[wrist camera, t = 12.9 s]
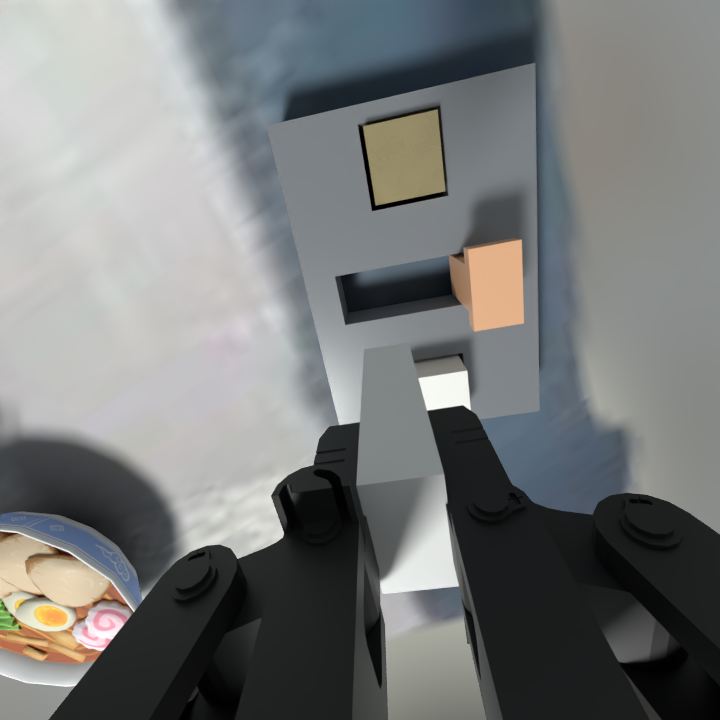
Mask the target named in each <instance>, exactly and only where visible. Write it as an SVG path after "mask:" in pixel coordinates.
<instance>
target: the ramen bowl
mask: <svg viewBox="0 0 720 720" xmlns="http://www.w3.org/2000/svg"><path fill="white" fill-rule="evenodd" d="M141 602H142V598H141V592H140V587H139V582H138V577H137V573H136V571H135V569H134V568H133V567H132V565H131V564H130V562H129V561H128V559H127V558H126V557H125V555H124V554H123V552H122V551H121V550H120V548H119V547H118V546H117V545H116V544H115V543H113V542H112V541H110V540H109V539H108V538H106V537H105V536H104V535H102V534H101V533H99V532H98V531H97V530H95V529H94V528H92V527H89V526H87V525H84V524H82V523H79V522H77V521H74V520H71V519H69V518H66V517H63V516H60V515H53V514H43V513H33V512H23V511H22V512H11V513H4V514H0V675H4V676H7V677H10V678H13V679H16V680H19V681H23V682H26V683H34V684H46V685H55V686H66V687H70V686H76V685H77V683H78V682H79V681H80V680H81V678H82V677H83V676H84V674H85V673H86V672H87V671H88V669H89V668H90V667H91V666H92V664H93V663H94V662H95V661H96V659H97V658H98V657H99V655H100V654H101V653H102V652H103V650H104V649H105V648H106V647H107V645H108V644H109V643H110V642H111V640H112V639H113V638H114V637H115V635H116V634H117V633H118V631H119V630H120V629H121V628H122V626H123V625H124V624H125V623H126V621H127V620H128V619H129V618H130V616H131V615H132V614H133V612H134V611H135V610H136V609H137V607H138V606H139V605H140V604H141Z"/></svg>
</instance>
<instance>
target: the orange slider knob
mask: <svg viewBox="0 0 720 720" xmlns="http://www.w3.org/2000/svg"><path fill="white" fill-rule="evenodd" d="M463 249H464V252H463V253H458V254H452V255H449V264H450V275H451V285H452V294H453V295H454V296H455V297H456V298H457V299H458V300H459V301H460V302H461V304H462V305H463V306H464V307H465V308H466V309H467V310H468V311H469V322H470V327H471V328H472V329H473V330H474V332H475V331H481V330H487V329H493V328H499V327H505V326H511V325H517V324H523V323H524V305H523V267H522V239H517V238H511V239H506V240H500V241H495V242H490V243H485V244H479V245H474V246H469V247H464V248H463Z"/></svg>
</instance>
